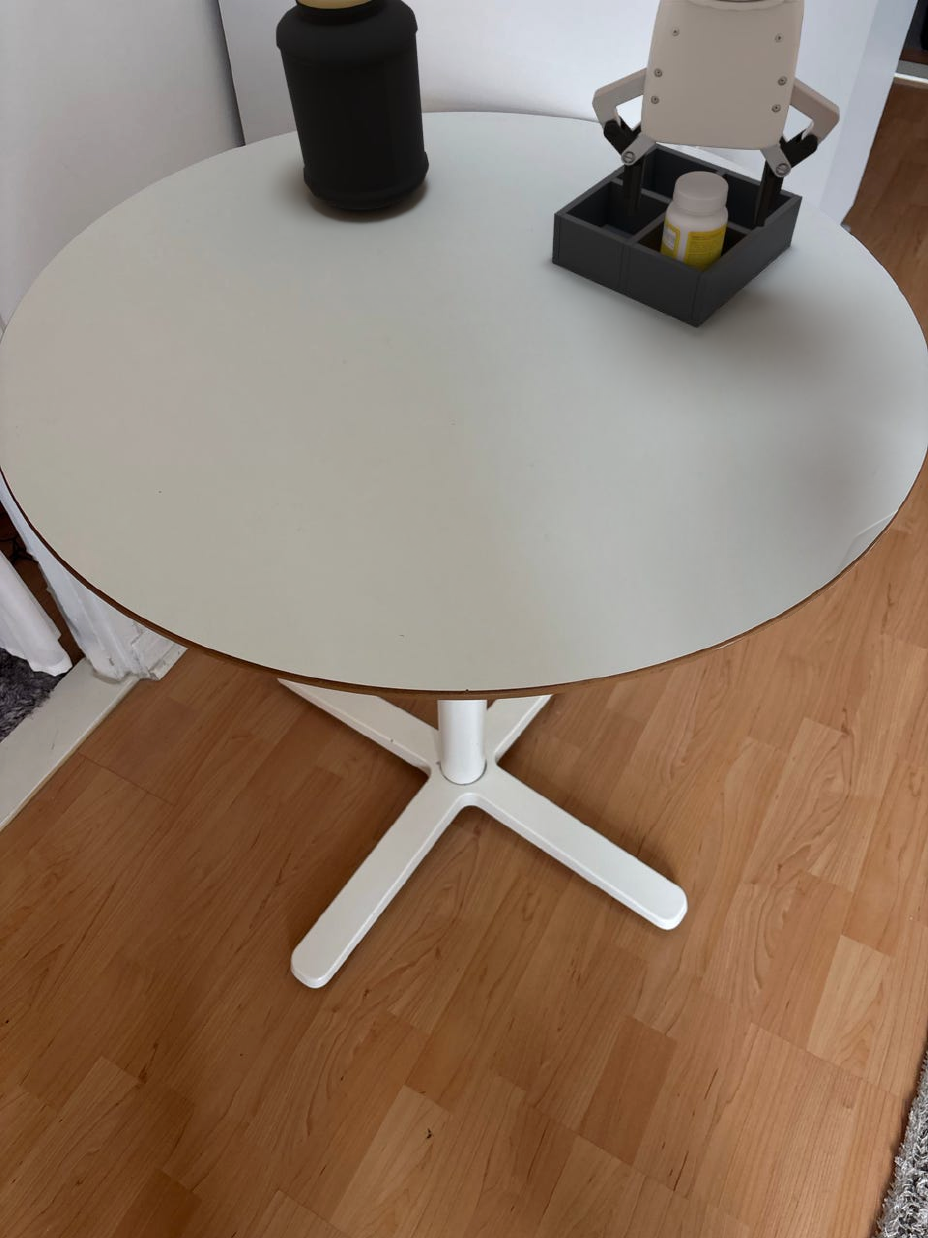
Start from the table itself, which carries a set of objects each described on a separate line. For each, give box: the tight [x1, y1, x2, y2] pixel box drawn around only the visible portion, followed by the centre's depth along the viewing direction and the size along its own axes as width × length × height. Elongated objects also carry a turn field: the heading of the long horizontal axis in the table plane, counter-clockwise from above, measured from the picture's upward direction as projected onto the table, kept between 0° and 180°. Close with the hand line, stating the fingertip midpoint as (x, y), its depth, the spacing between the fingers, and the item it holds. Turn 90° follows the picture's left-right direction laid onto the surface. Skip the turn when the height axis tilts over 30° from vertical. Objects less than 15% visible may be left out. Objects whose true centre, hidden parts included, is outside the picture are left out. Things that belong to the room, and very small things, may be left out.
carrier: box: [551, 142, 804, 328], centre depth 83 cm, size 15×15×4 cm
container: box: [275, 0, 430, 211], centre depth 86 cm, size 12×12×18 cm
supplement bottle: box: [660, 171, 728, 271], centre depth 78 cm, size 5×5×8 cm
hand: (696, 211), depth 77 cm, fingers open, 9 cm apart
